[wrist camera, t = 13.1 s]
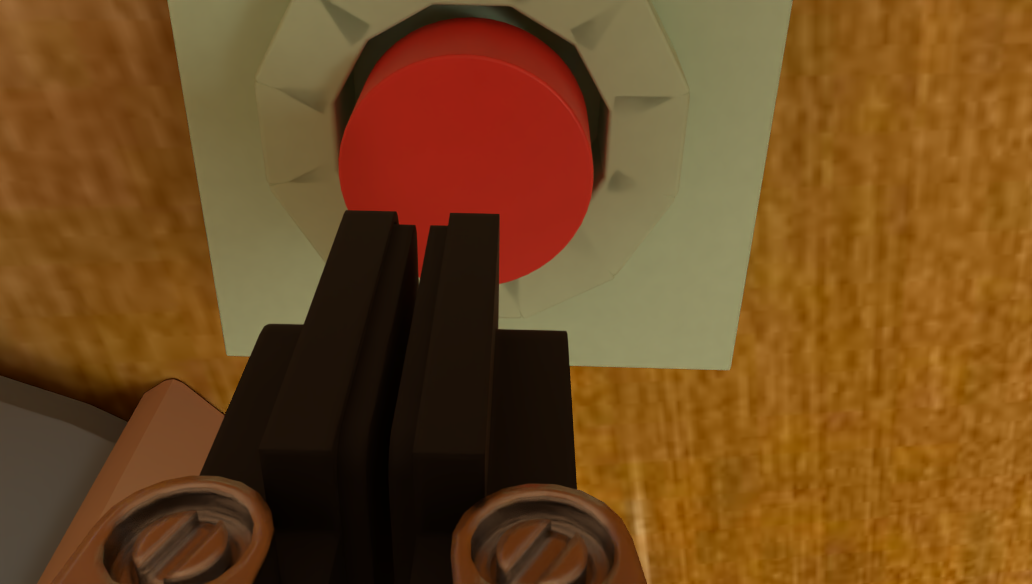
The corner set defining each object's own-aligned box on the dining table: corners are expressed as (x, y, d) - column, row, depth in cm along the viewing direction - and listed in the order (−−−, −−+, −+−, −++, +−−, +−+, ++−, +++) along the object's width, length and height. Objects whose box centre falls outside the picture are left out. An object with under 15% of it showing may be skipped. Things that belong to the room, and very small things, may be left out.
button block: (169, -292, 15) (63, -285, 12) (802, -276, 15) (877, -265, 12) (253, 297, 21) (199, 414, 18) (713, 310, 21) (746, 430, 18)
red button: (349, 13, 14) (327, 51, 13) (595, 19, 14) (602, 58, 13) (365, 229, 16) (347, 285, 15) (581, 236, 16) (585, 292, 15)
